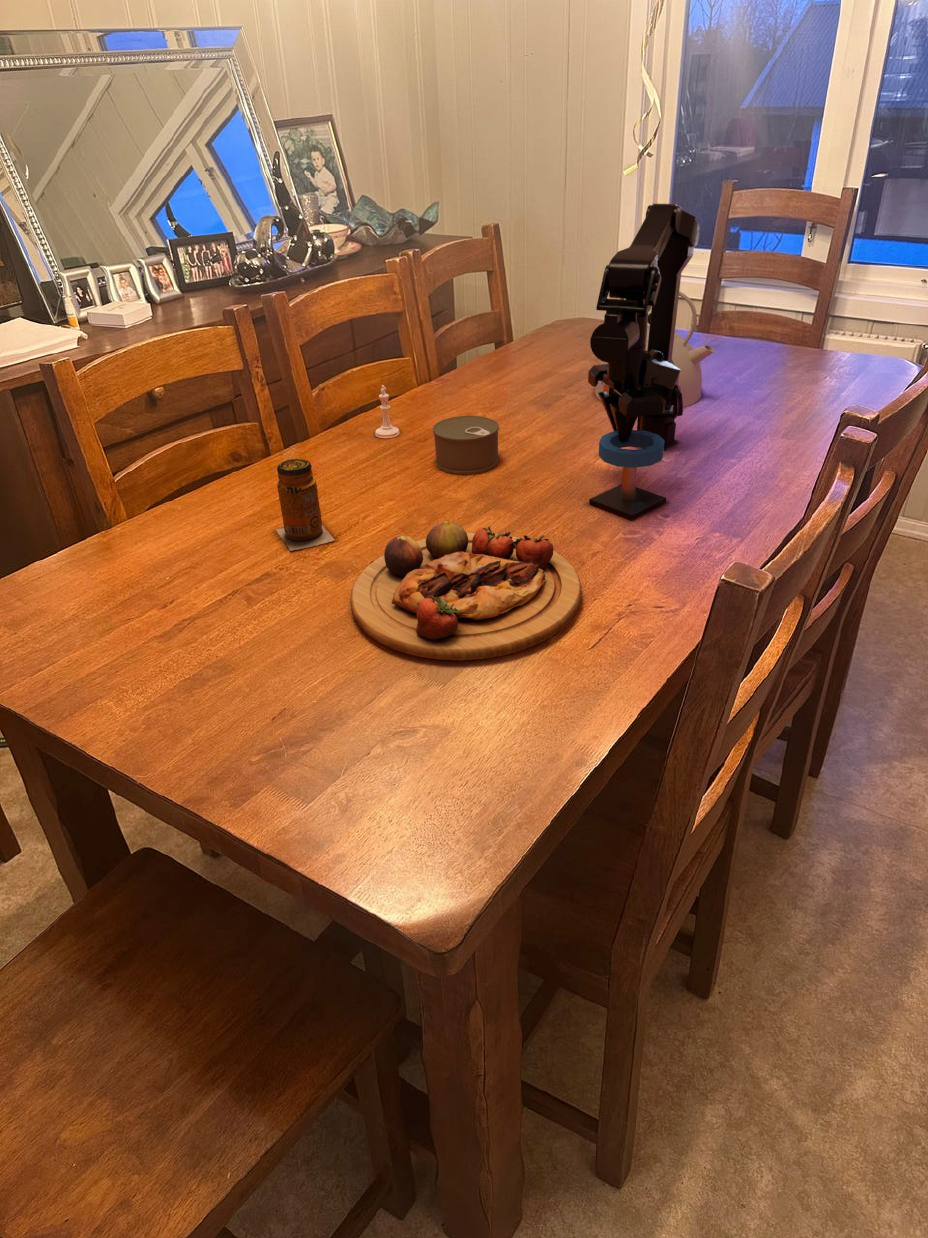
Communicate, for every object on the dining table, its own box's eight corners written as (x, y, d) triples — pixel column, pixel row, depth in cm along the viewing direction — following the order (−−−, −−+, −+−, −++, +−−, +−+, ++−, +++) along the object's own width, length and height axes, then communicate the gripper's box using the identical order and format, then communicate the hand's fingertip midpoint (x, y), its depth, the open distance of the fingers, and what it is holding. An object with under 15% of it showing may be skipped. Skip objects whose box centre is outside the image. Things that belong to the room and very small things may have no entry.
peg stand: (589, 504, 145) (590, 458, 141) (623, 487, 150) (626, 443, 146) (631, 520, 139) (635, 473, 135) (666, 503, 144) (670, 457, 140)
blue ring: (586, 456, 141) (587, 442, 139) (626, 438, 146) (627, 425, 145) (635, 472, 134) (636, 458, 133) (675, 454, 140) (676, 440, 138)
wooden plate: (509, 694, 103) (508, 636, 98) (303, 624, 118) (294, 571, 113) (618, 574, 125) (621, 522, 121) (434, 528, 140) (431, 480, 136)
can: (467, 445, 170) (465, 410, 166) (512, 460, 162) (512, 424, 158) (422, 463, 163) (419, 428, 159) (467, 480, 155) (465, 444, 152)
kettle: (725, 386, 192) (739, 279, 180) (689, 418, 176) (701, 303, 164) (620, 372, 204) (626, 270, 192) (577, 401, 188) (581, 292, 176)
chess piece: (371, 436, 176) (366, 388, 170) (382, 428, 179) (377, 380, 174) (393, 439, 174) (388, 390, 168) (403, 430, 178) (399, 382, 172)
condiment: (318, 520, 144) (308, 452, 138) (335, 541, 138) (325, 470, 131) (275, 531, 142) (263, 462, 135) (290, 552, 135) (278, 481, 129)
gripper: (702, 355, 128) (692, 455, 137) (653, 324, 143) (646, 415, 152) (630, 363, 126) (624, 463, 135) (588, 330, 142) (585, 423, 150)
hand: (621, 440), depth 143 cm, fingers closed on blue ring, 2 cm apart
